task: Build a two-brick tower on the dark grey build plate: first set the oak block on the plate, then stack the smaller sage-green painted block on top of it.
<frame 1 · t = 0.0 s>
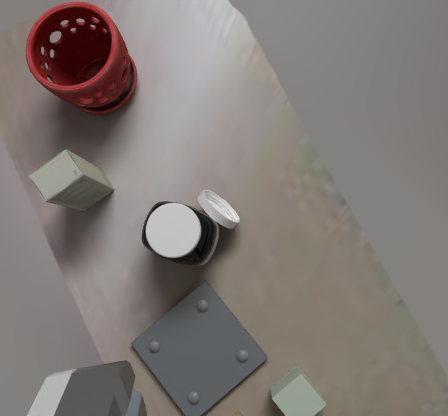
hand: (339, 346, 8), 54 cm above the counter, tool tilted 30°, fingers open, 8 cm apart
build plate: (199, 349, 61), on the counter
sage block: (295, 390, 59), on the counter
spread jar: (197, 227, 64), on the counter
skincare box: (92, 191, 65), on the counter
plant pot: (102, 83, 68), on the counter
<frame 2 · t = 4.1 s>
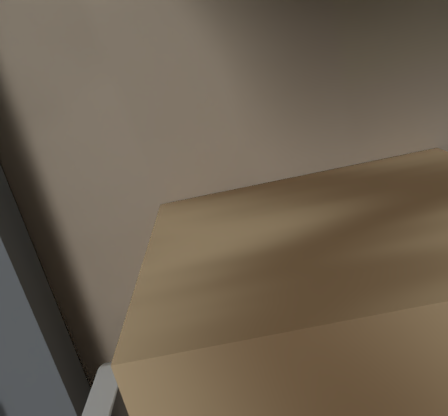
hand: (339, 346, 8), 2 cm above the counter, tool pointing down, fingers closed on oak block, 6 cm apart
oak block: (314, 295, 10), on the counter, touching gripper
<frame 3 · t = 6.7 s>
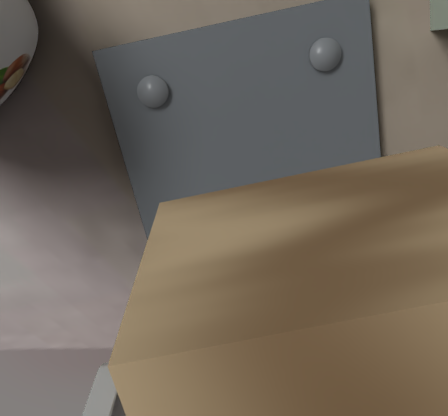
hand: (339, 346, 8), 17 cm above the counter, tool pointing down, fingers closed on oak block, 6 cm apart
build plate: (251, 152, 24), on the counter
oak block: (315, 294, 10), point 15 cm above the counter, touching gripper
when the fingers open (4 cm above the counter, at t = 9.5 s): oak block drops 1 cm, resting on build plate.
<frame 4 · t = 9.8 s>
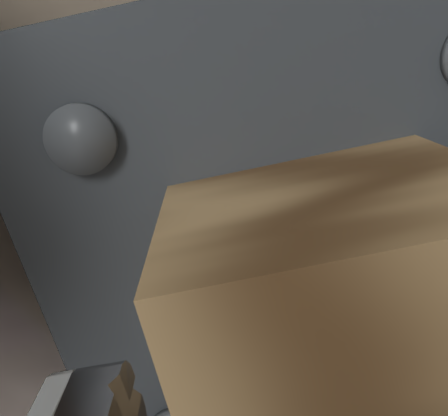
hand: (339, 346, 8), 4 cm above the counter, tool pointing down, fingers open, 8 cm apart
build plate: (295, 252, 12), on the counter
oak block: (306, 269, 11), point 1 cm above the counter, touching build plate
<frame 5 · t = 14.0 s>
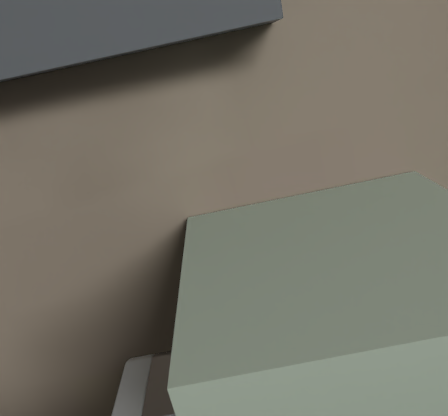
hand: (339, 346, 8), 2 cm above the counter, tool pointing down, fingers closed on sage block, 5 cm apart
sage block: (314, 292, 10), on the counter, touching gripper
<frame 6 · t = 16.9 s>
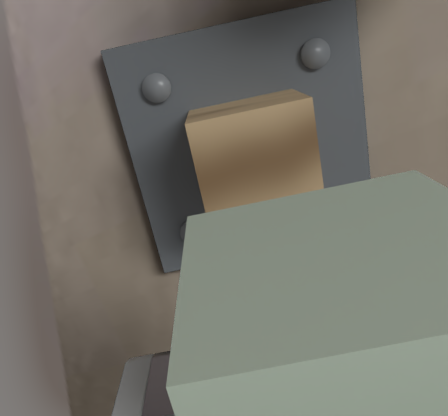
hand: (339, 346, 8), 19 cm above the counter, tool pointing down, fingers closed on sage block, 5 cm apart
build plate: (248, 145, 26), on the counter
sage block: (314, 291, 10), point 17 cm above the counter, touching gripper
oak block: (249, 150, 25), point 1 cm above the counter, touching build plate
when the fingers open (9 cm above the counter, at t = 19.5 s): sage block drops 1 cm, resting on oak block.
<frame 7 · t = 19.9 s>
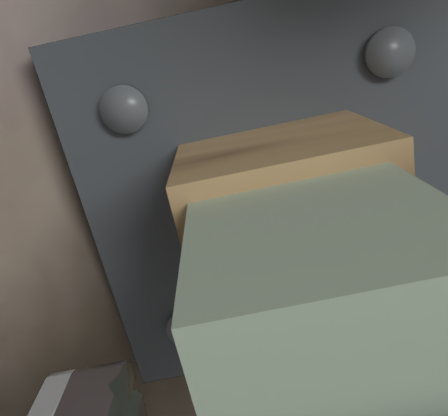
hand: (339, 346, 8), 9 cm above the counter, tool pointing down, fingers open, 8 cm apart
build plate: (271, 195, 17), on the counter
sage block: (302, 271, 11), point 6 cm above the counter, touching oak block
oak block: (275, 206, 16), point 1 cm above the counter, touching build plate, sage block
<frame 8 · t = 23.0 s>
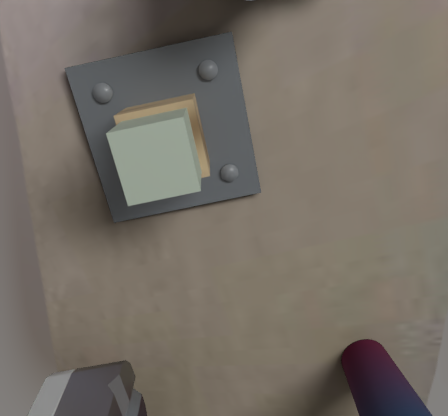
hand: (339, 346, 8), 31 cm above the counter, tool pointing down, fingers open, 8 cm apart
build plate: (169, 132, 38), on the counter
sage block: (162, 147, 32), point 6 cm above the counter, touching oak block
cup: (362, 356, 47), on the counter
oak block: (168, 135, 37), point 1 cm above the counter, touching build plate, sage block
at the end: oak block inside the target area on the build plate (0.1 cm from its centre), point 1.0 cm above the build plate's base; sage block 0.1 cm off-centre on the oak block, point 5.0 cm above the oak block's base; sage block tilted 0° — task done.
